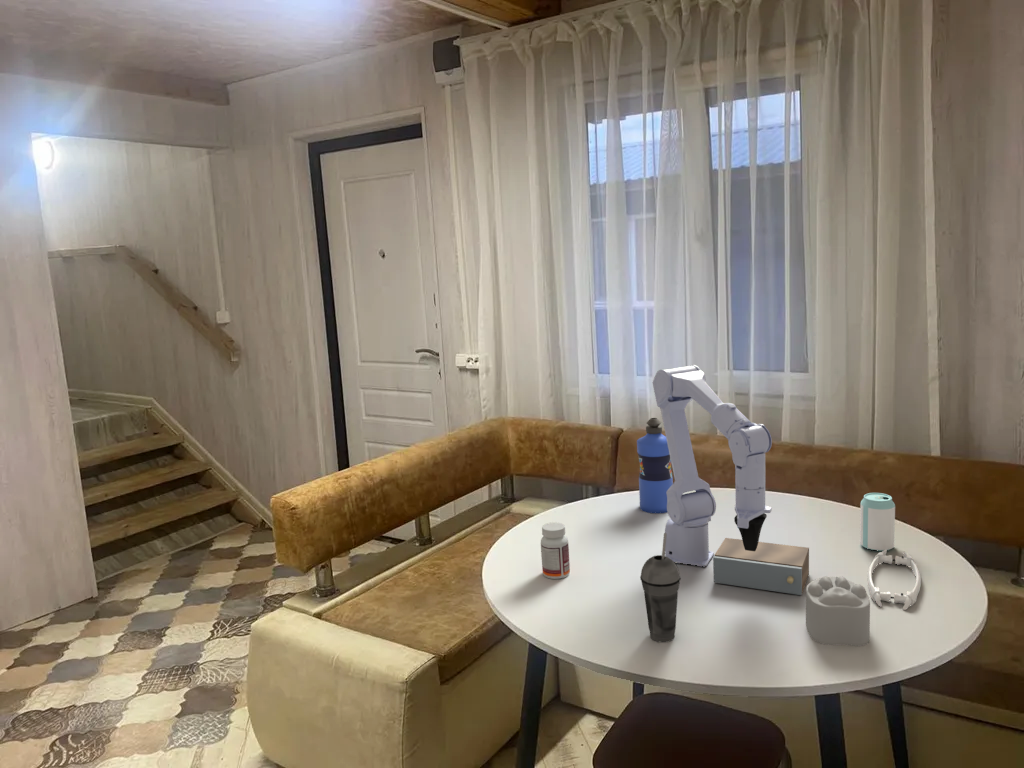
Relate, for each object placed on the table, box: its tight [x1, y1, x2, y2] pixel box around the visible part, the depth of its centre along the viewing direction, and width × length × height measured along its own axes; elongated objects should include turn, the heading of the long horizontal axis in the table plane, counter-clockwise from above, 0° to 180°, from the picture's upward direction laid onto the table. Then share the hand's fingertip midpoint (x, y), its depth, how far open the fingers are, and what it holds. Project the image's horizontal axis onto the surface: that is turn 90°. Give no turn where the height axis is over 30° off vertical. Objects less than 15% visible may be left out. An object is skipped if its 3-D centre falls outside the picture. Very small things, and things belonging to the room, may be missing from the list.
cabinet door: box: [712, 555, 803, 596], centre depth 159 cm, size 18×2×6 cm, turn 62°
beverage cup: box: [639, 532, 682, 643], centre depth 142 cm, size 7×7×20 cm
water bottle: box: [636, 417, 674, 514], centre depth 209 cm, size 9×9×25 cm
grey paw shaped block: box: [805, 575, 871, 647], centre depth 142 cm, size 10×13×9 cm
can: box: [859, 492, 896, 552], centre depth 175 cm, size 7×7×12 cm
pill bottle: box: [540, 521, 571, 580], centre depth 172 cm, size 6×6×11 cm
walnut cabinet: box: [714, 537, 810, 594], centre depth 164 cm, size 18×10×6 cm, turn 62°
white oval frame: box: [866, 550, 922, 611], centre depth 159 cm, size 3×10×25 cm
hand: (750, 549), depth 157 cm, fingers closed
